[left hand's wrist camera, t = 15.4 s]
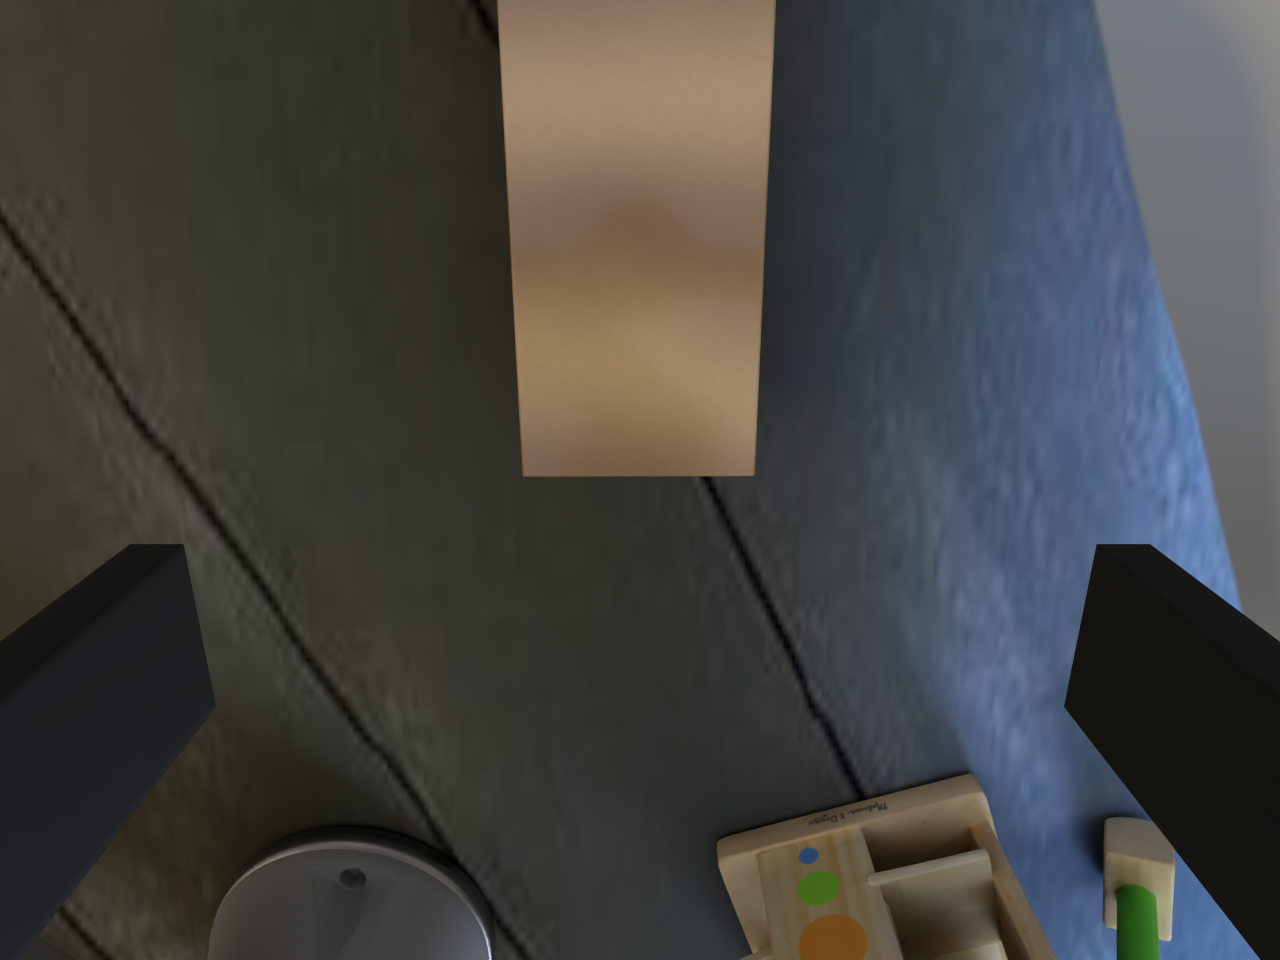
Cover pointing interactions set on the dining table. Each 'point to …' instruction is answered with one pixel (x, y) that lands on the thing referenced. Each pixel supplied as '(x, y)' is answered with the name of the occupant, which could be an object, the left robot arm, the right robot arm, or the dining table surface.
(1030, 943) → the pounding bench toy
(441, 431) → the dining table surface
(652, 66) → the box
